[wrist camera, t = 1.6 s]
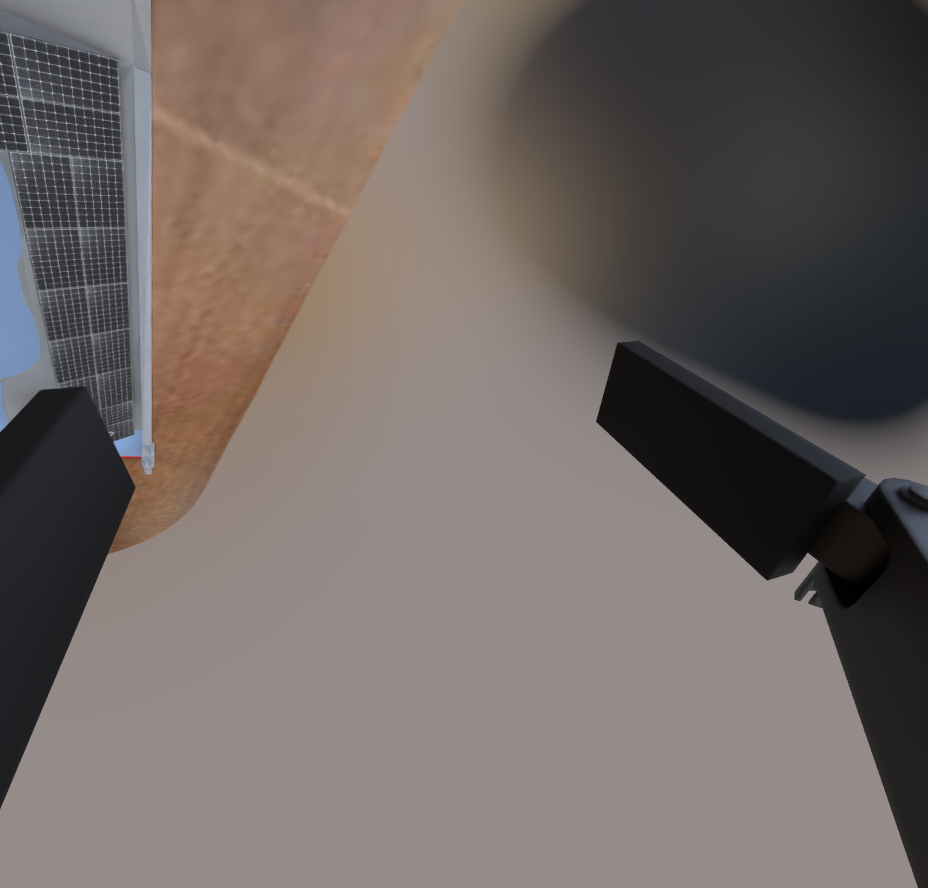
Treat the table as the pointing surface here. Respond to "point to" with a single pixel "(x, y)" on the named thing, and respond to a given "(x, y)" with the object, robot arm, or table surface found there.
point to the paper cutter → (77, 210)
